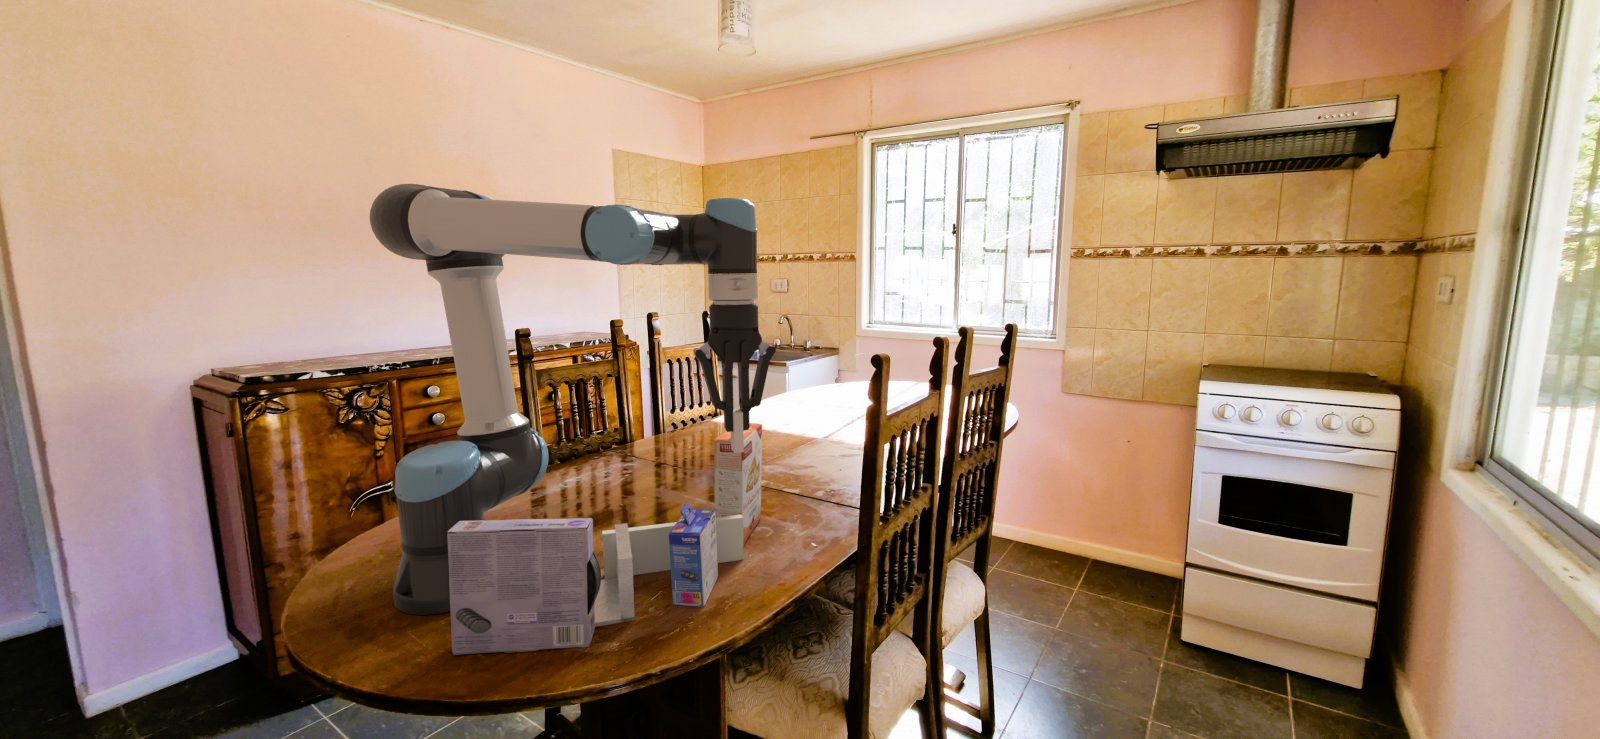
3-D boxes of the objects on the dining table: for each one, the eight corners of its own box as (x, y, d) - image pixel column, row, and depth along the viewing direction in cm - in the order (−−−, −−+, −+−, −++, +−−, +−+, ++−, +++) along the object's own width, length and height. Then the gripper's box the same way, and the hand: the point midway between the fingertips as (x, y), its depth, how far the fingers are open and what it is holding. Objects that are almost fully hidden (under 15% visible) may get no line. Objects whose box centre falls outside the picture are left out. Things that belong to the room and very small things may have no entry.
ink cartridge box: (687, 575, 107) (685, 494, 105) (718, 576, 107) (717, 496, 104) (669, 605, 98) (667, 517, 95) (704, 608, 97) (702, 519, 95)
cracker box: (744, 549, 117) (743, 441, 114) (713, 545, 118) (712, 439, 115) (763, 519, 131) (763, 422, 127) (735, 517, 132) (734, 420, 129)
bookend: (577, 629, 91) (574, 565, 89) (579, 586, 103) (576, 529, 101) (634, 620, 93) (632, 557, 92) (629, 579, 106) (627, 523, 104)
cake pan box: (604, 627, 92) (599, 513, 89) (597, 648, 87) (592, 527, 84) (465, 636, 89) (455, 519, 86) (450, 658, 84) (439, 534, 81)
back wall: (604, 579, 105) (602, 534, 104) (604, 575, 107) (602, 530, 106) (743, 559, 113) (743, 517, 112) (741, 555, 114) (741, 514, 113)
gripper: (694, 304, 91) (700, 461, 95) (780, 302, 95) (783, 452, 99) (687, 302, 98) (693, 447, 102) (768, 300, 102) (770, 440, 106)
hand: (737, 450), depth 100 cm, fingers closed
